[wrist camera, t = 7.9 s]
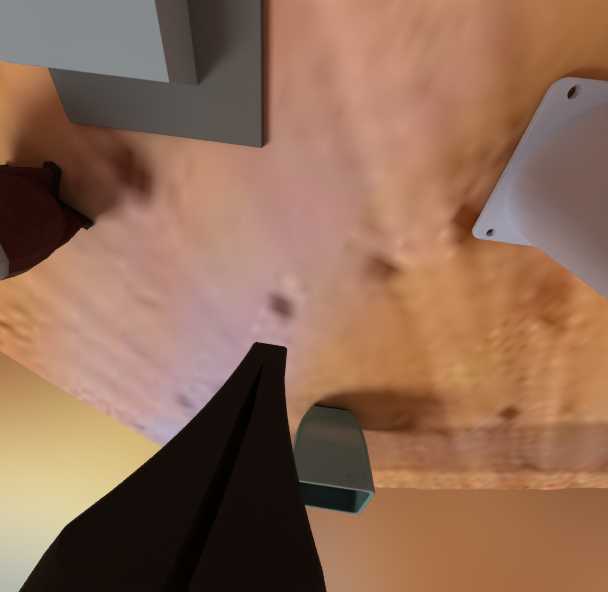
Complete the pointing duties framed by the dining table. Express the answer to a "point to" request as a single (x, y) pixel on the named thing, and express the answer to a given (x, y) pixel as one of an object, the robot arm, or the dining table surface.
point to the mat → (186, 98)
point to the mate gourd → (33, 217)
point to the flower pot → (333, 461)
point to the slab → (101, 37)
